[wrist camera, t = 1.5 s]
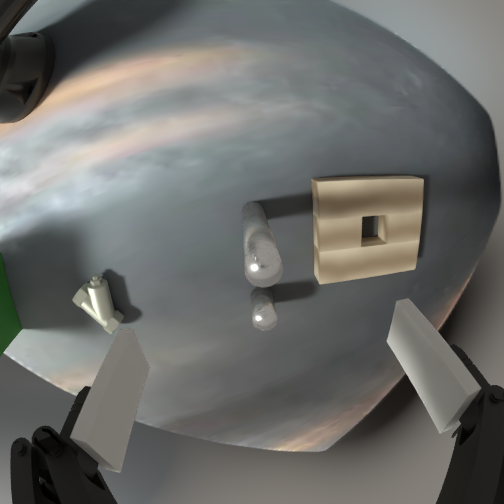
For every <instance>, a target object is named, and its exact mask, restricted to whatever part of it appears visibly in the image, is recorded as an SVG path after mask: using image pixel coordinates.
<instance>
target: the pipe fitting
mask: <svg viewBox="0 0 504 504" xmlns="http://www.w3.org/2000/svg"><path fill="white" fill-rule="evenodd" d="M73 302H74V303H75V304H76V305H77V306H78V307H81V308H82V309H84V310H85V311H86V312H87V313H88V314H89V315H90V316H91V317H93V318H94V319H95V320H96V321H97V322H98V323H99V324H101V325H102V326H103V327H104V330H106V331H107V332H108V333H109V334H112V333H113V332H114V331H115V330H116V328H117V327H118V326H119V324H120V323H121V321H122V320H123V318H124V315H123V314H121V313H120V312H119V311H118V310H116V311H115V310H114V306H113V302H112V298H111V294H110V290H109V285H108V281H107V280H106V279H103V278H102V277H99V275H94V276H93V278H92V279H91V280H90V282H89V283H85V284H84V285H83V286H82V287H81V288H80V289H79V290H78V292H77V293H76V294H75V296H74V298H73Z"/></svg>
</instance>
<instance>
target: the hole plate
mask: <svg viewBox="0 0 504 504" xmlns="http://www.w3.org/2000/svg"><path fill="white" fill-rule="evenodd" d="M311 180H312V200H313V227H314V274H315V276H316V278H317V280H318V282H319V284H326V283H333V282H340V281H347V280H353V279H360V278H366V277H372V276H379V275H385V274H390V273H396V272H402V271H408V270H413V269H415V268H416V261H417V255H418V247H419V239H420V230H421V220H422V207H423V188H424V179H422V178H418V177H415V176H350V177H328V178H311ZM376 215H379V222H378V236H376V237H366V238H361V237H362V217H364V216H376Z"/></svg>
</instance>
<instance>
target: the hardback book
mask: <svg viewBox="0 0 504 504" xmlns="http://www.w3.org/2000/svg"><path fill="white" fill-rule="evenodd" d="M21 330H22V327H21V324H20V321H19V318H18V315H17V312H16V309H15V306H14V303H13V300H12V296H11V293H10V289H9V286H8V282H7V278H6V274H5V270H4V265H3V260H2V256H1V253H0V356H1V355H2V353H3V352H4V351H5V349H6V348H7V347H8V346H9V344H10V343H11V342H12V341H13V339H14V338H15V337H16V336H17V335H18V333H19V332H20V331H21Z"/></svg>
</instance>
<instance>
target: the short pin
mask: <svg viewBox="0 0 504 504" xmlns="http://www.w3.org/2000/svg"><path fill="white" fill-rule="evenodd" d="M251 305H252V318H253V325H254V327H255V328H256V329H258V330H261V331H268V330H271V329H273V328H274V327H275V326H276V325H277V321H278V320H277V315H276V310H275V305H274V300H273V295H272V292H271V290H270V289H269V288H267V287H257V288H255V289H254V290H253V291H252V293H251Z"/></svg>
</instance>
